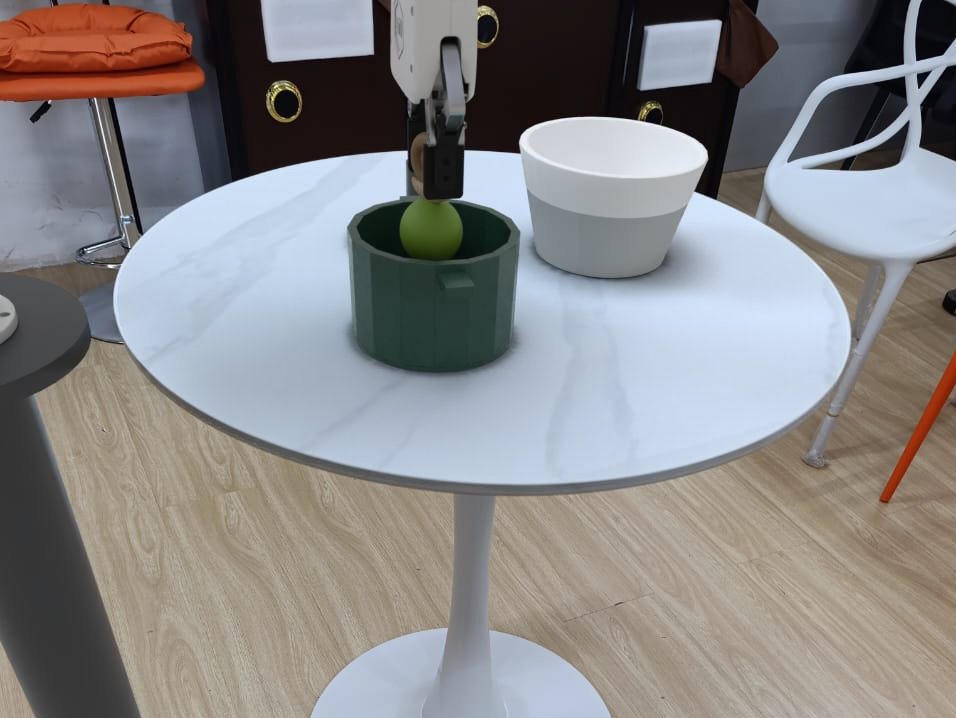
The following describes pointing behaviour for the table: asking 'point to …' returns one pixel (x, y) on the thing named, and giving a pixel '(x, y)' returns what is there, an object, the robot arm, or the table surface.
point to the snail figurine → (429, 218)
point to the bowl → (607, 192)
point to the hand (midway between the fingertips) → (434, 181)
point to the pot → (433, 290)
